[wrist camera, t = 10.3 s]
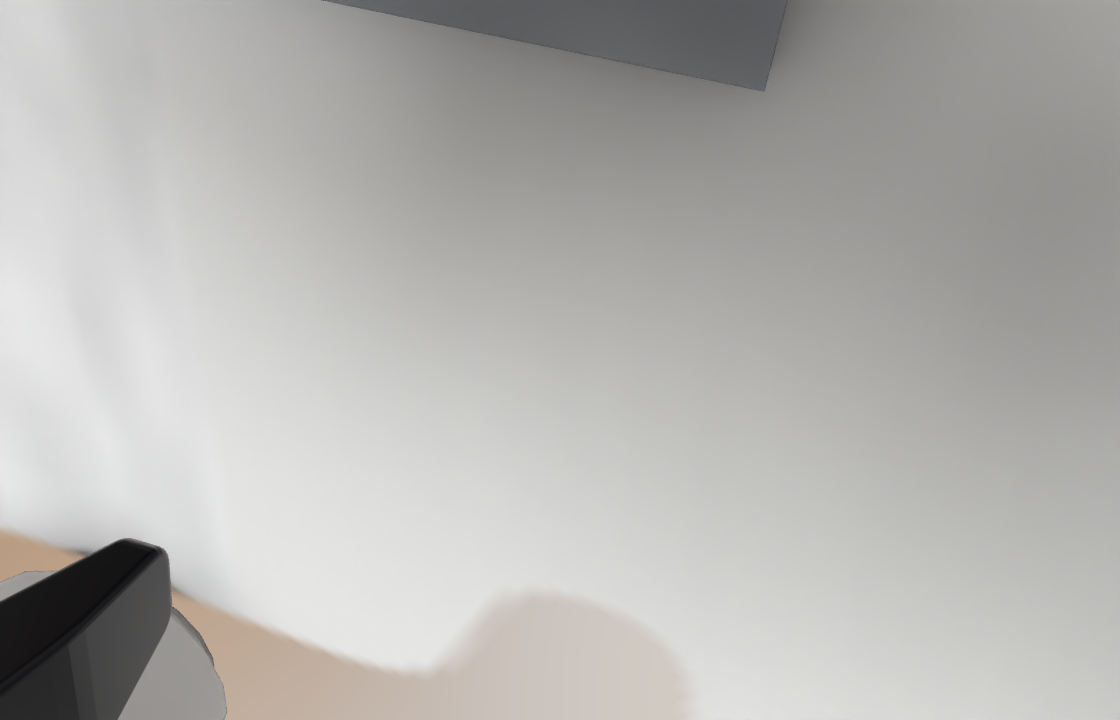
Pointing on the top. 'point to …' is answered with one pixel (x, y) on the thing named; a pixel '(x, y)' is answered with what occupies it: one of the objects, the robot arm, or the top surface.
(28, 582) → the can
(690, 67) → the pin board
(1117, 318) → the top surface
